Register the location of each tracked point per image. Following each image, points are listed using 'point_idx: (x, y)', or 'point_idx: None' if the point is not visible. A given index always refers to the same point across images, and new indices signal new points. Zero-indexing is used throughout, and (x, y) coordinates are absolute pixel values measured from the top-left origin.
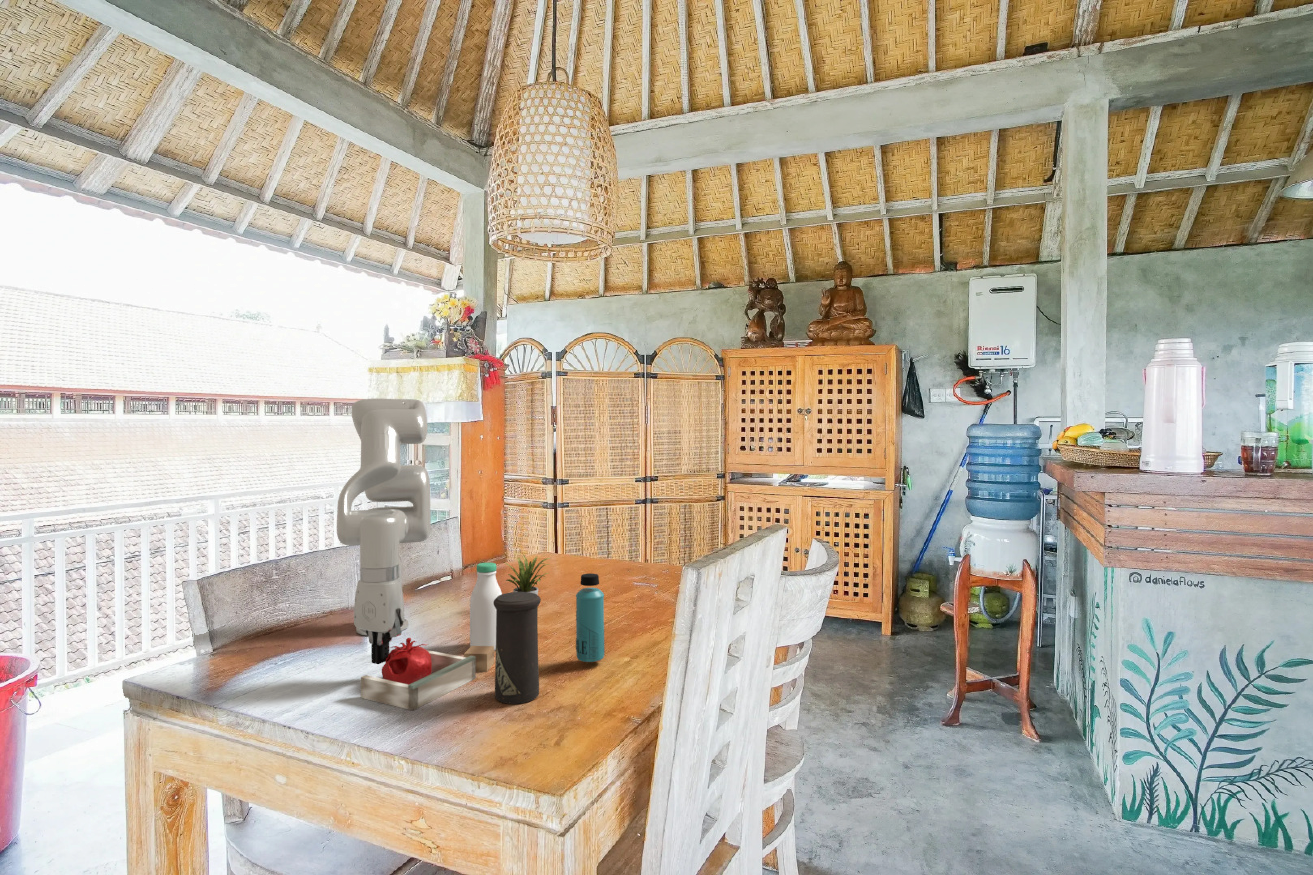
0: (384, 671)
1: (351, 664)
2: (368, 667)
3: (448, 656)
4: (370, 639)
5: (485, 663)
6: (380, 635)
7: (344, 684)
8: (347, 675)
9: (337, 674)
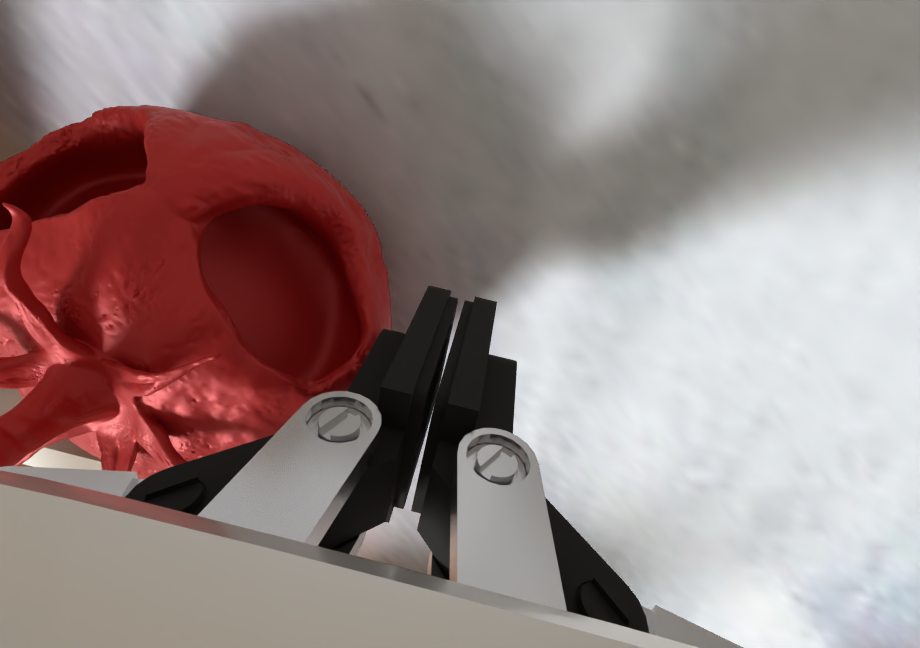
0: (225, 129)
1: (805, 453)
2: (662, 425)
3: (72, 455)
4: (520, 483)
5: (22, 465)
6: (266, 498)
7: (677, 140)
8: (744, 298)
9: (836, 302)
